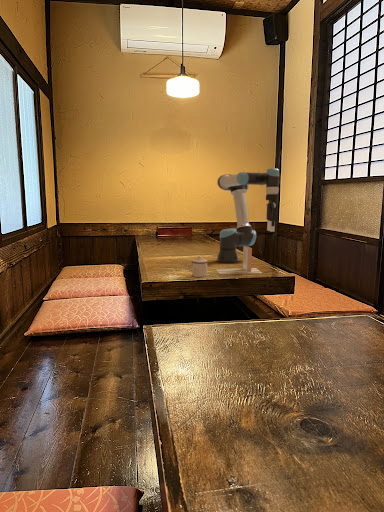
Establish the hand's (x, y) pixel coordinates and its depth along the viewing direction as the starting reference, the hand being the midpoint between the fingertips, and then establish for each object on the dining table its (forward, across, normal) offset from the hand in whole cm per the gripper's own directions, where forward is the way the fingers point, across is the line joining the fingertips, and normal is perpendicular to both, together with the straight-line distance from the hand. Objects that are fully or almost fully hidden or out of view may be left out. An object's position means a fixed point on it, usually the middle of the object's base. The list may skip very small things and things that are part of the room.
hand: (270, 231), depth 230 cm
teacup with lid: (+25, -16, +48) cm, 56 cm away
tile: (+24, -6, +16) cm, 29 cm away
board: (+25, -6, +22) cm, 34 cm away
